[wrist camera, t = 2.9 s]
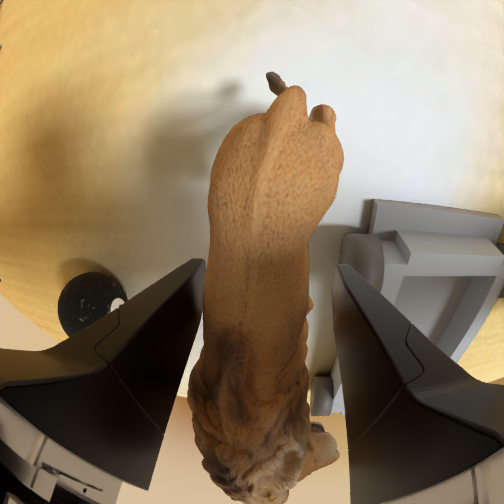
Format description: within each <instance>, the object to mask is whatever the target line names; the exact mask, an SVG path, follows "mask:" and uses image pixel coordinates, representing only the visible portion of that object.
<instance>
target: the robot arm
mask: <svg viewBox="0 0 504 504" xmlns="http://www.w3.org/2000/svg"><path fill="white" fill-rule="evenodd" d="M206 271H207V268H206V262H205V260H204V259H198V258H193V259H191V260H189V261H188V262H186V263H184V264H183V265H181V266H180V267H178V268H177V269H175V270H174V271H172V272H171V273H169V274H167V275H166V276H164V277H163V278H161V279H160V280H158V281H157V282H155V283H154V284H152V285H151V286H149V287H148V288H146V289H145V290H143V291H142V292H140V293H139V294H137V295H136V296H134V297H133V298H131V299H130V300H128V301H127V302H125V303H124V304H122V305H121V306H119V309H118V308H116V309H115V310H113V311H112V312H110V313H109V314H107V315H106V316H104V317H103V318H101V319H100V320H98V321H97V322H95V323H93V324H91V325H90V326H88V327H86V328H85V329H83V330H81V331H80V332H78V333H76V334H74V335H73V336H71V337H69V338H68V339H66V340H64V341H62V342H61V343H59V344H57V345H56V346H54V347H52V348H49V349H46V350H42V351H23V350H12V349H11V350H10V349H1V348H0V504H116V500H117V497H118V494H119V491H120V487H121V484H122V481H123V482H125V483H128V484H130V485H133V486H136V487H138V488H141V489H144V490H148V489H149V486H150V482H151V478H152V475H153V472H154V468H155V465H156V461H157V458H158V454H159V451H160V447H161V444H162V441H163V438H164V435H163V434H164V433H165V430H166V427H167V423H168V420H169V417H170V414H171V411H172V408H173V404H174V401H175V398H176V395H177V392H178V389H179V385H180V382H181V379H182V376H183V373H184V370H185V367H186V364H187V361H188V358H189V355H190V352H191V349H192V346H193V343H194V340H195V337H196V334H197V331H198V328H199V324H200V320H201V316H202V311H203V291H204V285H205V278H206ZM332 305H333V326H334V336H335V342H336V348H337V355H338V362H339V369H340V376H341V383H342V391H343V400H344V409H345V418H346V428H347V438H348V439H347V440H348V450H349V451H348V455H349V471H350V498H351V504H504V385H499V384H490V383H485V382H482V381H479V380H477V379H475V378H474V377H472V376H471V375H470V374H468V373H467V372H466V371H465V370H464V369H463V368H462V367H460V366H459V365H458V364H457V363H456V362H455V361H453V360H452V359H451V358H450V357H449V356H448V355H446V354H445V353H444V352H443V351H442V350H441V349H439V348H438V347H437V346H436V345H435V344H434V343H433V342H431V341H430V340H429V339H428V338H427V337H426V336H425V335H424V334H423V333H422V332H421V331H420V330H419V329H418V328H417V327H416V326H415V325H414V324H411V322H410V321H409V320H408V319H407V318H406V317H405V316H404V315H403V314H402V313H401V312H400V311H399V310H398V309H397V308H396V307H395V306H394V305H393V304H392V303H391V302H389V301H388V300H387V299H386V298H385V297H384V296H383V295H382V294H381V293H380V292H379V291H378V290H377V289H375V288H374V287H373V286H372V285H371V284H370V283H369V282H368V281H367V280H366V279H364V278H363V277H362V276H361V275H360V274H359V273H358V272H357V271H355V270H354V269H353V268H352V267H351V266H350V265H348V264H336V266H335V270H334V276H333V281H332Z"/></svg>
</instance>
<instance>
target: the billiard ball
mask: <svg viewBox="0 0 504 504" xmlns="http://www.w3.org/2000/svg"><path fill="white" fill-rule="evenodd" d="M127 301H128V299H127V297H126V294H125V293H124V291H123V289H122V288H121V287H120V286H119V284H118V283H117V282H115V281H114V280H113V279H112V278H110V277H108V276H106V275H104V274H101V273H97V272H88V273H84V274H81V275H78V276H76V277H75V278H73V279H72V280H71V281H69V282H68V283H67V285H66V286H65V287H64V289H63V290H62V292H61V294H60V297H59V301H58V316H59V320H60V323H61V325H62V328H63V329H64V331H65V332H66V334H67V335H68V336H69V337H71V336H73V335H74V334H76V333H78V332H80V331H81V330H83V329H85V328H86V327H88V326H90V325H91V324H93V323H95V322H97V321H98V320H100V319H101V318H103V317H104V316H106V315H107V314H109V313H110V312H112V311H113V310H115V309H116V308H118V309H119V306H121V305H122V304H124V303H125V302H127Z"/></svg>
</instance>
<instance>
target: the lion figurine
mask: <svg viewBox="0 0 504 504" xmlns="http://www.w3.org/2000/svg"><path fill="white" fill-rule="evenodd" d="M266 78H267V80H268V83H269V88H270V90H271V91H272V92H273V93H274V94H276V95H277V96H278V97H277V98H276V99H275V100H274V102H273V103H272V105H271V106H270V108H269V110H268V111H267V112H266V113H264V114H256V115H253V116H250V117H248V118H246V119H244V120H243V121H241V122H239V123H238V124H237V125H235V126H234V127H233V128H232V129H231V130H230V132H229V133H228V134H227V136H226V137H225V139H224V141H223V142H222V144H221V146H220V148H219V150H218V153H217V155H216V158H215V161H214V164H213V167H212V171H211V179H210V189H209V195H208V213H209V220H210V251H209V258H208V264H207V271H206V278H205V285H204V291H203V339H204V345H203V348H202V350H201V353H200V358H199V360H198V361H197V363H196V364H195V366H194V367H193V369H192V371H191V374H190V378H189V384H188V392H187V394H188V396H187V401H188V404H189V406H190V409H191V410H192V412H193V413H192V416H193V417H192V422H193V429H194V432H195V443H196V445H197V447H198V449H199V450H200V452H201V453H202V455H203V457H204V459H203V461H202V466H203V468H204V469H205V470H206V471H207V472H208V473H209V474H210V478H211V480H212V481H213V482H214V483H215V484H216V485H217V486H218V487H220V488H221V489H222V490H223V491H224V492H225V494H227V495H228V496H230V497H231V499H232V500H235V501H241V502H243V503H245V504H284V503H285V502H286V501H287V498H288V495H289V489H291V488H293V487H295V486H296V484H297V482H299V481H301V480H303V479H304V478H305V477H306V476H308V475H310V474H311V473H312V472H313V471H316V470H318V469H320V468H322V467H325V466H327V465H330V464H332V463H333V462H335V461H336V460H337V459H338V458H339V456H340V454H339V451H338V450H337V443H336V440H335V439H334V437H333V436H332V435H331V434H330V433H328V432H325V431H324V428H323V425H322V424H321V423H320V422H310V419H309V414H310V406H309V404H308V403H307V393H308V379H309V377H308V370H307V367H306V364H305V359H306V356H307V350H308V348H307V344H306V342H307V337H308V322H307V319H306V315H307V314H308V313H309V311H310V310H311V309H312V308H313V302H312V300H311V298H310V297H309V255H308V245H307V243H308V240H309V238H310V236H311V234H312V233H313V231H314V230H315V228H316V227H317V225H318V223H319V222H320V220H321V219H322V217H323V216H324V214H325V213H326V211H327V210H328V209H329V207H330V206H331V204H332V203H333V201H334V199H335V196H336V192H337V187H338V181H339V174H340V172H341V170H342V167H343V161H344V156H343V150H342V146H341V143H340V141H339V140H338V138H337V136H336V134H335V121H336V114H335V112H334V110H333V109H332V108H331V107H330V106H327V105H323V104H321V105H318V106H316V107H314V108H313V109H312V111H311V113H310V116H309V118H308V115H307V106H306V94H305V92H304V90H303V89H302V88H301V87H300V86H295V85H294V86H291V87H289V88H288V87H286V86H285V82H283V81H282V79H281V78H280V76H279V75H278V74H277V73H274V72H268V73H266Z"/></svg>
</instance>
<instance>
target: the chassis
mask: <svg viewBox="0 0 504 504" xmlns="http://www.w3.org/2000/svg"><path fill="white" fill-rule="evenodd" d="M503 224H504V219H503V218H501V217H500V216H499V215H494V214H489V213H483V212H477V211H470V210H464V209H457V208H450V207H442V206H434V205H426V204H418V203H408V202H399V201H388V200H377V199H374V201H373V208H372V214H371V220H370V226H369V231H368V234H358V233H347V234H346V235H345V236H344V239H343V242H342V246H341V253H340V263H339V264H348V265H350V266H351V267H352V268H353V269H354V270H355V271H357V272H358V273H359V274H360V275H361V276H362V277H363V278H364V279H366V280H367V281H368V282H369V283H370V284H371V285H372V286H373V287H374V288H375V289H377V290H378V291H379V292H380V293H381V294H382V295H383V296H384V297H385V298H386V299H387V300H388V301H389V302H391V303H392V304H393V305H394V306H395V307H396V308H397V309H398V310H399V311H400V312H401V313H402V314H403V315H404V316H405V317H406V318H407V319H408V320H409V321H410V322H411V324H414V325H415V326H416V327H417V328H418V329H419V330H420V331H421V332H422V333H423V334H424V335H425V336H426V337H427V338H428V339H429V340H430V341H431V342H433V343H434V344H435V345H436V346H437V347H438V348H439V349H441V350H442V351H443V352H444V353H445V354H446V355H448V356H449V357H450V358H451V359H452V360H453V361H455V362H456V363H457V362H458V361H459V359H460V358H461V357H462V355H463V354H464V352H465V351H466V350H467V348H468V347H469V345H470V344H471V342H472V341H473V339H474V338H475V336H476V335H477V333H478V331H479V330H480V328H481V327H482V325H483V323H484V322H485V320H486V318H487V317H488V315H489V313H490V311H491V310H492V308H493V306H494V304H495V302H496V300H497V298H504V244H503V243H497V242H498V239H499V236H500V233H501V230H502V227H503ZM310 411H311V416H329V415H330V414H331V413H335V412H340V413H341V415H345V409H344V400H343V391H342V383H341V376H340V369H339V362H338V355H337V356H336V359H335V362H334V365H333V368H332V371H331V374H330V377H314V378H313V381H312V386H311V397H310Z"/></svg>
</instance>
